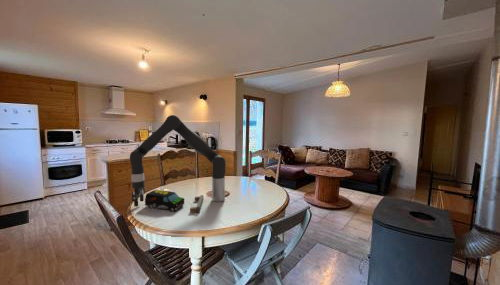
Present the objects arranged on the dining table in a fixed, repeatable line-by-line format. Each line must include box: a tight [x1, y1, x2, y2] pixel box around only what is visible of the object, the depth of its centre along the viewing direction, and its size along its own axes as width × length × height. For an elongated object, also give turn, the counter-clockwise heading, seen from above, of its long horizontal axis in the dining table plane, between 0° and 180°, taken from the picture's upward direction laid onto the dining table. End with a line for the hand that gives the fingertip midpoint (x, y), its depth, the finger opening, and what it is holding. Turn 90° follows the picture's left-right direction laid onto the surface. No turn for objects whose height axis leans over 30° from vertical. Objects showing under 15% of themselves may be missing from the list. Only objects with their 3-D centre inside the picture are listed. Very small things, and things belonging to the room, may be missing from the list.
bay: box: [189, 194, 204, 214], centre depth 140 cm, size 6×21×4 cm, turn 6°
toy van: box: [144, 189, 185, 213], centre depth 138 cm, size 11×25×10 cm, turn 75°
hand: (139, 203), depth 136 cm, fingers open, 8 cm apart
